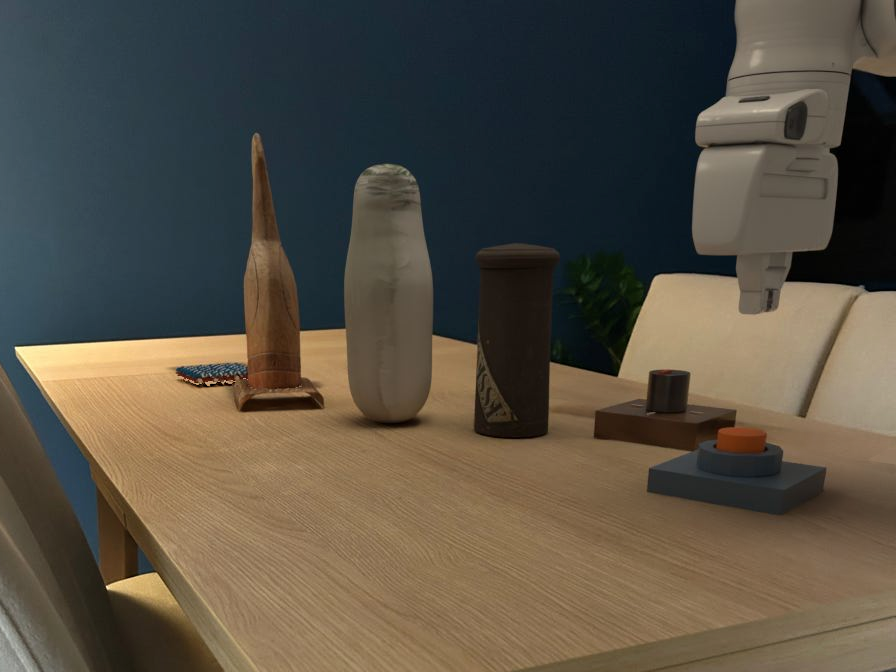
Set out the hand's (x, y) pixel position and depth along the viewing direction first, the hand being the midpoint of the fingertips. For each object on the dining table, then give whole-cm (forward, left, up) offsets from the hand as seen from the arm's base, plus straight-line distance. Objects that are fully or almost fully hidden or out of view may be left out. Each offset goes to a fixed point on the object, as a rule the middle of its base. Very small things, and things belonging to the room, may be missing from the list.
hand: (757, 312), depth 80 cm
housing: (0, 0, -15) cm, 15 cm away
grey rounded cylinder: (+46, -6, -15) cm, 49 cm away
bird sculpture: (+66, -6, -15) cm, 68 cm away
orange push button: (0, 0, -11) cm, 11 cm away
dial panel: (+16, -18, -15) cm, 28 cm away
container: (+31, -10, -15) cm, 36 cm away
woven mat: (+88, -14, -15) cm, 90 cm away
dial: (+16, -18, -12) cm, 27 cm away
